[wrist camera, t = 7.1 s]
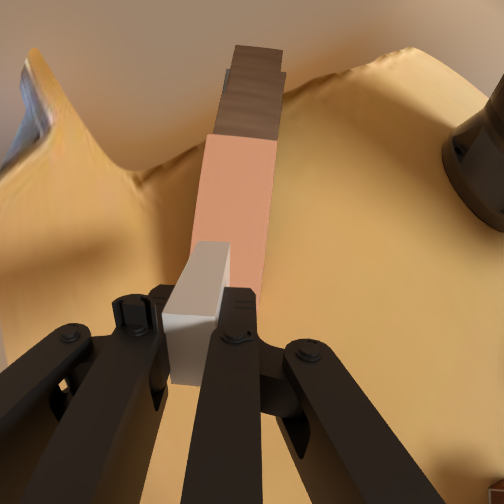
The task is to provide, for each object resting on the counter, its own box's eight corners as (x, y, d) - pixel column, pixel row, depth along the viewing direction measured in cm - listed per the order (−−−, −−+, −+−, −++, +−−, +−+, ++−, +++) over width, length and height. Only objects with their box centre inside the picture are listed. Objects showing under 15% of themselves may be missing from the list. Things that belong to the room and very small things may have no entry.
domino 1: (217, 150, 29) (235, 55, 29) (269, 156, 29) (281, 60, 29) (216, 143, 27) (235, 45, 27) (270, 149, 27) (282, 50, 27)
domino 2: (208, 188, 27) (234, 75, 27) (264, 197, 27) (284, 83, 27) (205, 183, 25) (233, 64, 25) (266, 192, 25) (286, 72, 25)
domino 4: (190, 300, 23) (210, 143, 23) (257, 308, 23) (275, 150, 23) (184, 303, 21) (207, 133, 21) (257, 313, 21) (277, 140, 21)
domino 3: (198, 238, 25) (223, 104, 25) (260, 248, 25) (280, 112, 25) (194, 237, 23) (221, 93, 23) (261, 247, 23) (282, 101, 23)
